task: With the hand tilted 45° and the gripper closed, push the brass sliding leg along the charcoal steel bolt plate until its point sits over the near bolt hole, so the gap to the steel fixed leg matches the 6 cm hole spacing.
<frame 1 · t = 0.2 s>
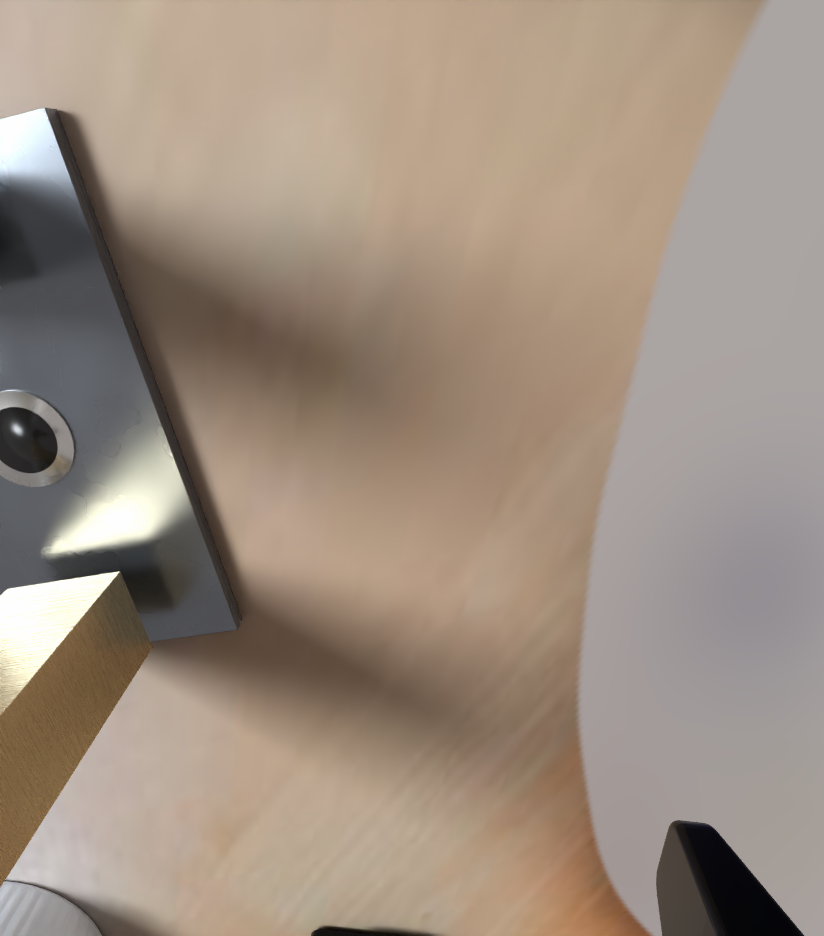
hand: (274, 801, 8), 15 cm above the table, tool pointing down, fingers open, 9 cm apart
ramekin: (29, 929, 34), on the table
bolt plate: (31, 425, 23), on the table
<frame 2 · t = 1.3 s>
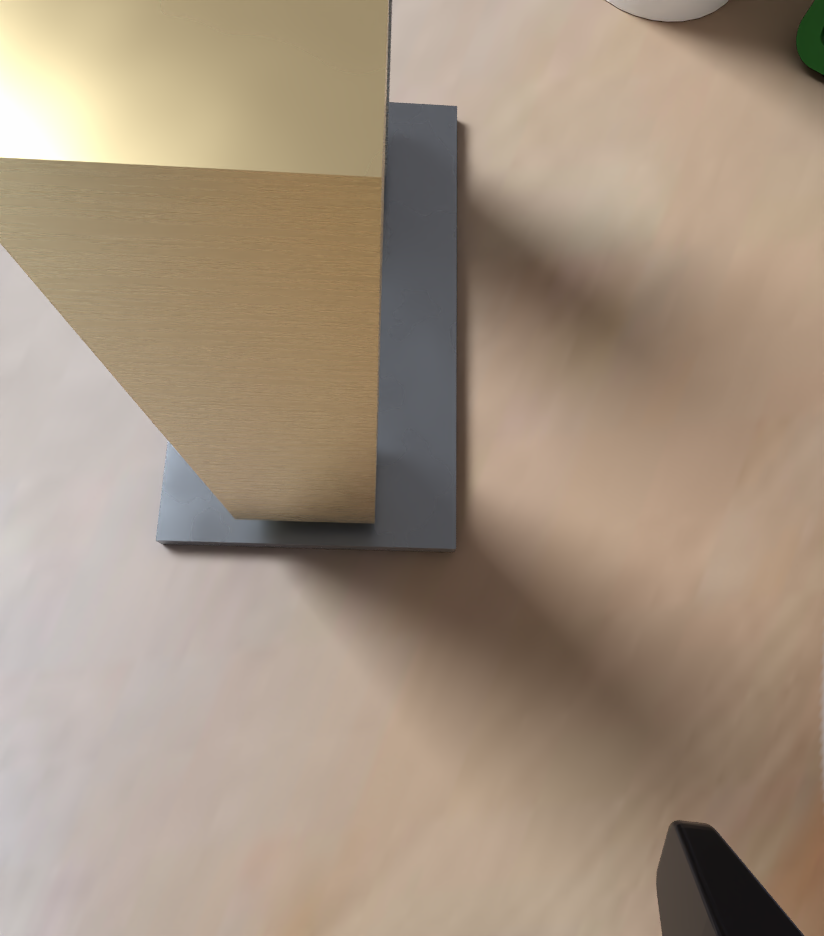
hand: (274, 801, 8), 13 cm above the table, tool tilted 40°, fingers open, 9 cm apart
sliding leg: (278, 372, 14), point 9 cm above the table, slide at 0.0 cm
bolt plate: (323, 309, 25), on the table
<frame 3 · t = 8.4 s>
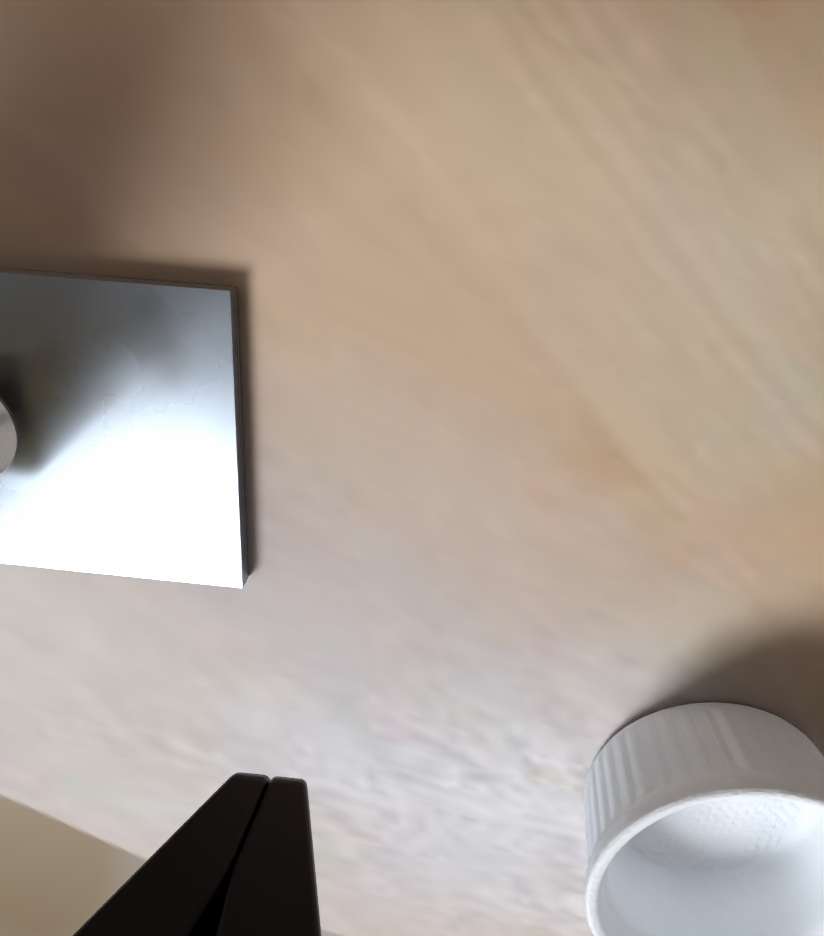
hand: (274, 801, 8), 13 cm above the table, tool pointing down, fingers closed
ramekin: (699, 781, 25), on the table
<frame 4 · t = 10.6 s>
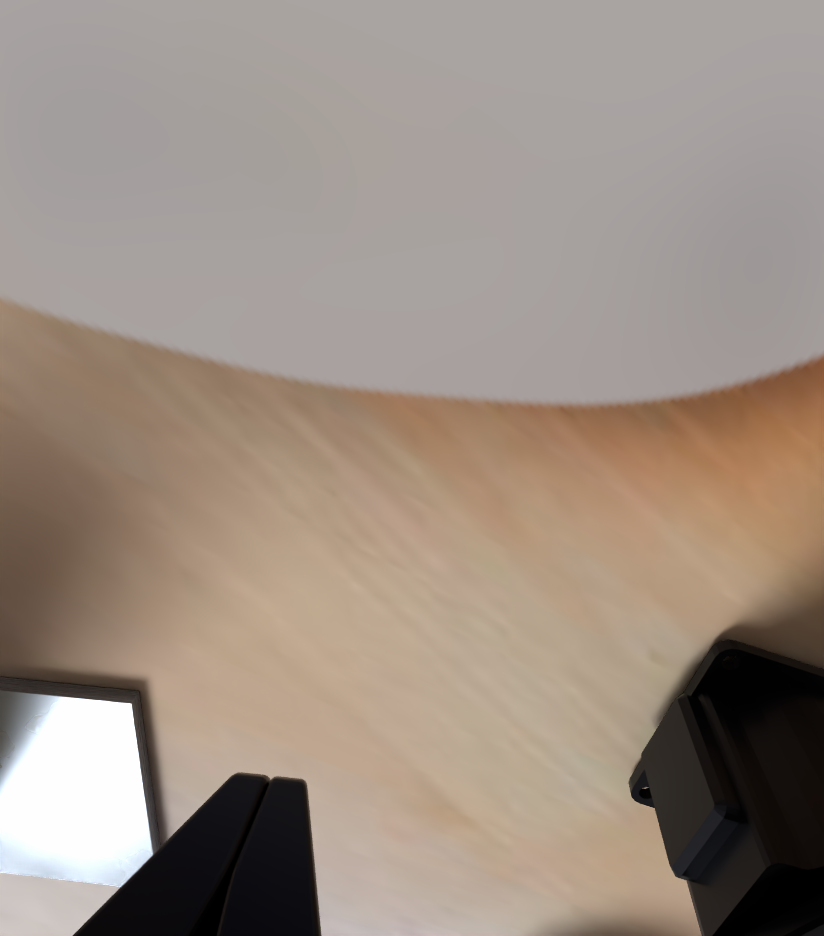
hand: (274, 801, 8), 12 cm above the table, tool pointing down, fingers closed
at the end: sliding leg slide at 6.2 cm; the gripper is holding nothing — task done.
